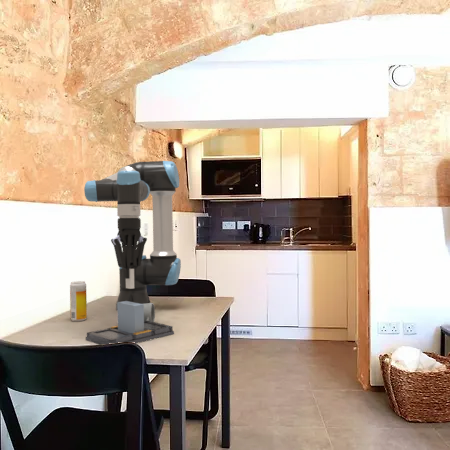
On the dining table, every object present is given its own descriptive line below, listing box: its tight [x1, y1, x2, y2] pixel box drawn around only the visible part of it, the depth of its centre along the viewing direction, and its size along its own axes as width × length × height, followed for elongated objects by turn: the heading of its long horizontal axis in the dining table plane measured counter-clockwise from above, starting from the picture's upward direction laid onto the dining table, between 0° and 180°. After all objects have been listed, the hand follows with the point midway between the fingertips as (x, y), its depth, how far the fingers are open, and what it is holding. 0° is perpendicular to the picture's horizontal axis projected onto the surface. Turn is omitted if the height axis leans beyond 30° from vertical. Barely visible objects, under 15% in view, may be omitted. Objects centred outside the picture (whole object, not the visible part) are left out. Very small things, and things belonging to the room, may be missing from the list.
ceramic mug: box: [144, 302, 156, 322], centre depth 173 cm, size 11×8×8 cm
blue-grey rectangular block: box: [116, 301, 144, 334], centre depth 154 cm, size 10×4×10 cm, turn 46°
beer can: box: [69, 280, 88, 322], centre depth 181 cm, size 6×6×15 cm
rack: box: [85, 321, 175, 345], centre depth 154 cm, size 16×24×3 cm, turn 136°
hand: (130, 288), depth 154 cm, fingers closed
